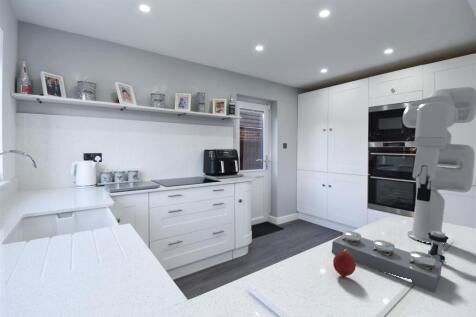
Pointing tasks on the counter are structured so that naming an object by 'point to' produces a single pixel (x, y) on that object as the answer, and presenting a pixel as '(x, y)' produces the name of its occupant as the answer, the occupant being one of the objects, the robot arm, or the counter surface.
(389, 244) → the knob middle
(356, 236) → the knob
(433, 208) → the robot arm
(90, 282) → the counter surface
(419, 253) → the knob
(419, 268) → the knob panel
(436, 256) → the push button
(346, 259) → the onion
